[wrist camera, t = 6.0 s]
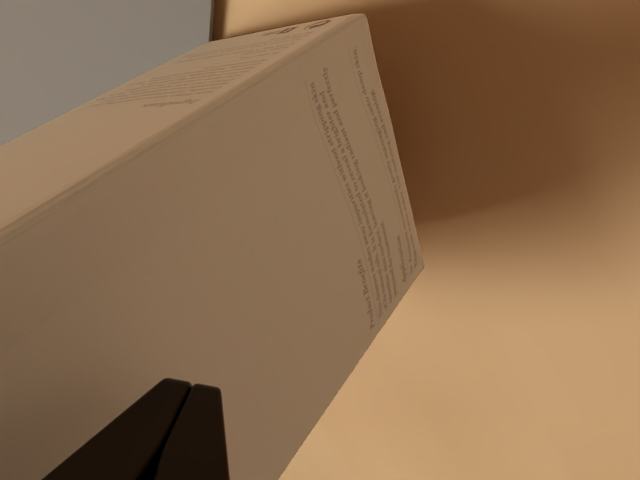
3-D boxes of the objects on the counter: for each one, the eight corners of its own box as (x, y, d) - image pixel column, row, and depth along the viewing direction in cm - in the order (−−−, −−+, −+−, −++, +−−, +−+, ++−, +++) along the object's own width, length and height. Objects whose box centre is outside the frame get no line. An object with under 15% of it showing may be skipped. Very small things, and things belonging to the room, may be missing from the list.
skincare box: (216, 37, 18) (-495, 342, 8) (384, 3, 14) (-533, 485, 4) (292, 263, 22) (-125, 659, 12) (441, 281, 18) (19, 875, 8)
